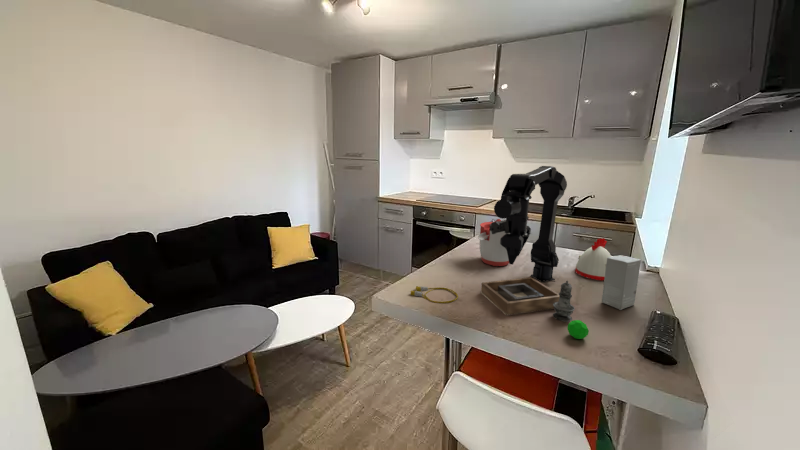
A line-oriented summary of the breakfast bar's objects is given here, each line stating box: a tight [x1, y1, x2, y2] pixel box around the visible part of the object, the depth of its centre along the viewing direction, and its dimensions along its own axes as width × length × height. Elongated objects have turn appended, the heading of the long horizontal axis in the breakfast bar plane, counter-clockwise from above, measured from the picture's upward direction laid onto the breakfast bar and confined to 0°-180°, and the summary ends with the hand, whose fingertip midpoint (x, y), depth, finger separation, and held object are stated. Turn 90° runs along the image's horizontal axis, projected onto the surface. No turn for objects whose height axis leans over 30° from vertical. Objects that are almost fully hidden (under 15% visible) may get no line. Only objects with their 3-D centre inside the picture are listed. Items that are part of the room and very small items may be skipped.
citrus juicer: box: [477, 218, 510, 267], centre depth 142 cm, size 16×17×20 cm
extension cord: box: [410, 286, 459, 304], centre depth 112 cm, size 12×16×2 cm
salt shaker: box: [552, 279, 576, 323], centre depth 96 cm, size 6×6×12 cm
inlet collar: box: [498, 283, 544, 302], centre depth 108 cm, size 10×10×3 cm
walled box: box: [480, 276, 560, 316], centre depth 108 cm, size 20×16×4 cm
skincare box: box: [601, 254, 642, 311], centre depth 104 cm, size 8×7×16 cm
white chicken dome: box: [574, 237, 612, 281], centre depth 130 cm, size 14×14×15 cm
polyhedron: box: [566, 319, 589, 340], centre depth 87 cm, size 5×5×5 cm
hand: (514, 259), depth 106 cm, fingers open, 9 cm apart
